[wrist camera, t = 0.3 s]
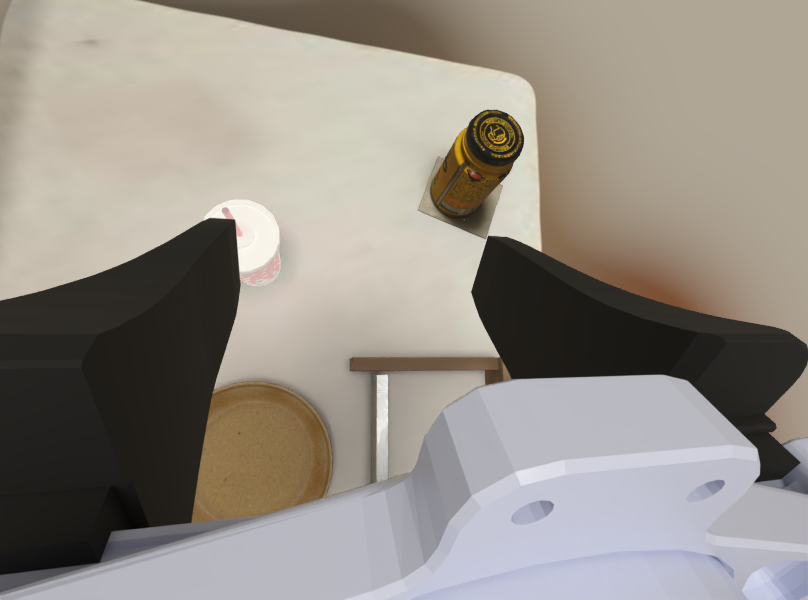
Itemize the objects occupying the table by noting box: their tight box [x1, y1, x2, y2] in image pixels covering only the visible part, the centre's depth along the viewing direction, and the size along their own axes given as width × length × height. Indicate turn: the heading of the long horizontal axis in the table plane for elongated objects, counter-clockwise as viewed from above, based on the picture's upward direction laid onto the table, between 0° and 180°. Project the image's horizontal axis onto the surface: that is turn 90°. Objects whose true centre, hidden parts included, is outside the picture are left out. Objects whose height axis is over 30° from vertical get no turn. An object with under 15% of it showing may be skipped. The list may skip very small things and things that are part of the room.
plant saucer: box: [192, 382, 333, 523], centre depth 37 cm, size 15×15×3 cm
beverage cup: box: [203, 200, 281, 286], centre depth 34 cm, size 6×6×14 cm
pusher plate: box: [371, 375, 388, 484], centre depth 38 cm, size 16×1×4 cm, turn 0°
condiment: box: [418, 110, 524, 238], centre depth 41 cm, size 7×8×12 cm
